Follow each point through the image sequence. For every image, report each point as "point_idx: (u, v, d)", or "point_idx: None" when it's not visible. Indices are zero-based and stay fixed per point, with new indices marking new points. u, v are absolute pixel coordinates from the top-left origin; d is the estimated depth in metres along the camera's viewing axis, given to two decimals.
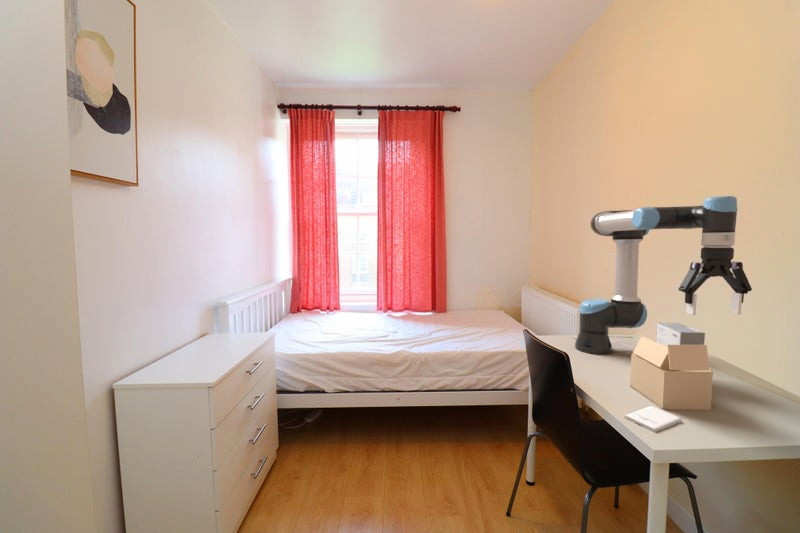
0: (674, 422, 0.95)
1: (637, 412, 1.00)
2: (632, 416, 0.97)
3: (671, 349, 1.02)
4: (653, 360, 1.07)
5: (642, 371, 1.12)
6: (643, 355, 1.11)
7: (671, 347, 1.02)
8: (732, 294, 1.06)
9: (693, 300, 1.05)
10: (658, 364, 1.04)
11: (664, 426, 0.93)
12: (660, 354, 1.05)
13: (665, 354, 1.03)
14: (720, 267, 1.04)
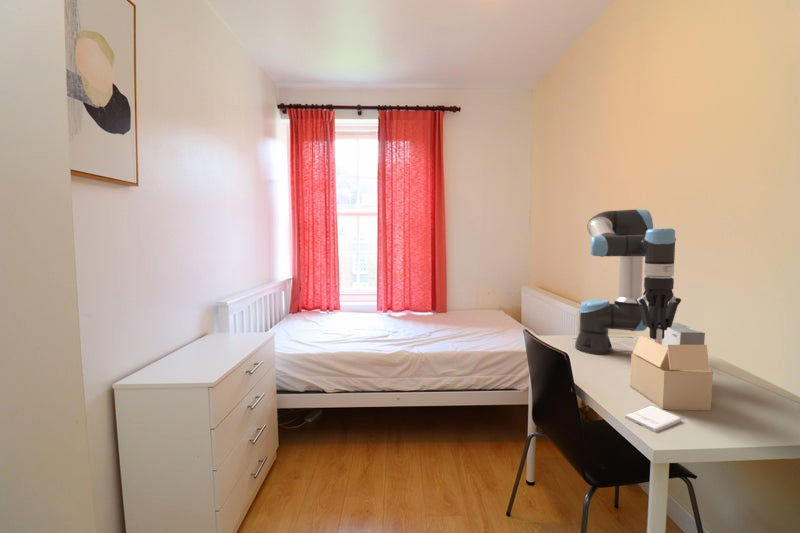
0: (674, 422, 0.95)
1: (637, 412, 1.00)
2: (632, 416, 0.97)
3: (671, 349, 1.02)
4: (653, 360, 1.07)
5: (642, 371, 1.12)
6: (643, 355, 1.11)
7: (671, 347, 1.02)
8: None
9: (657, 336, 1.08)
10: (658, 364, 1.04)
11: (664, 426, 0.93)
12: (659, 354, 1.05)
13: (664, 354, 1.03)
14: (662, 295, 1.07)
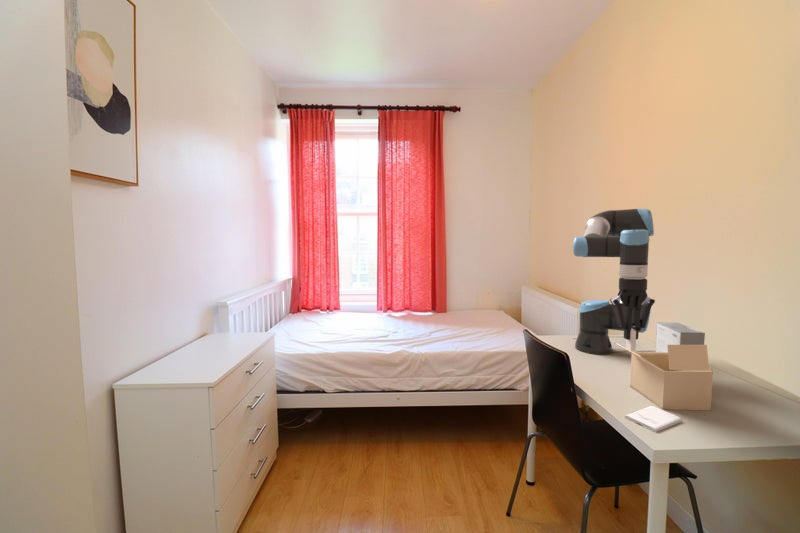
0: (675, 422, 0.95)
1: (638, 412, 1.00)
2: (633, 416, 0.97)
3: (671, 349, 1.02)
4: (648, 362, 1.07)
5: (642, 371, 1.12)
6: (639, 357, 1.11)
7: (671, 347, 1.02)
8: None
9: (631, 336, 1.08)
10: None
11: (665, 426, 0.93)
12: (644, 359, 1.05)
13: (645, 360, 1.04)
14: (636, 296, 1.07)
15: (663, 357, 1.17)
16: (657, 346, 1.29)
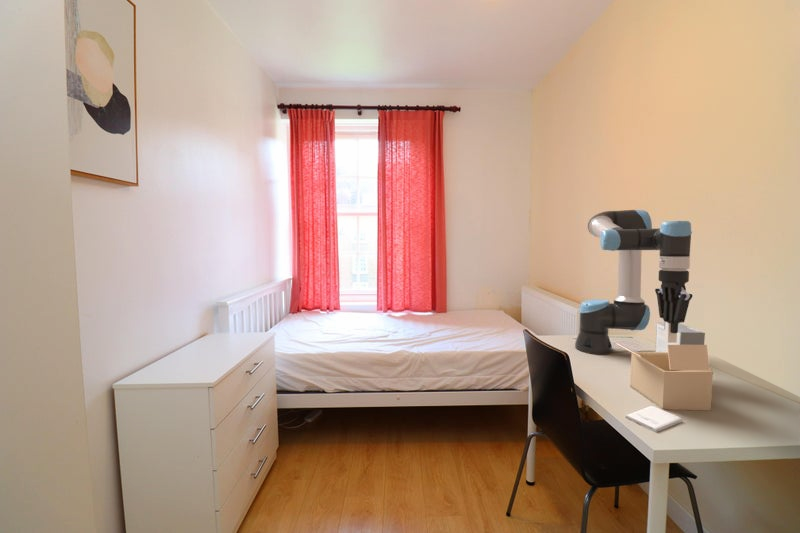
0: (675, 422, 0.95)
1: (638, 412, 1.00)
2: (633, 416, 0.97)
3: (671, 349, 1.02)
4: (648, 362, 1.07)
5: (642, 371, 1.12)
6: (639, 357, 1.11)
7: (671, 347, 1.02)
8: None
9: None
10: None
11: (665, 426, 0.93)
12: (644, 359, 1.05)
13: (645, 360, 1.04)
14: (670, 287, 1.07)
15: (663, 357, 1.17)
16: (657, 346, 1.29)
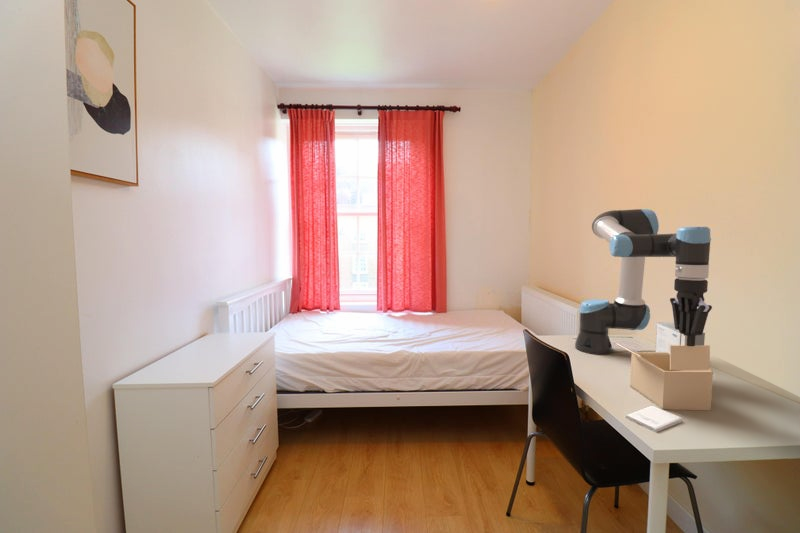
0: (675, 422, 0.95)
1: (638, 412, 1.00)
2: (633, 416, 0.97)
3: (673, 350, 1.01)
4: (648, 362, 1.07)
5: (642, 371, 1.12)
6: (639, 357, 1.11)
7: (673, 348, 1.01)
8: None
9: None
10: None
11: (665, 426, 0.93)
12: (644, 359, 1.05)
13: (645, 360, 1.04)
14: (687, 298, 1.00)
15: (663, 357, 1.17)
16: (657, 346, 1.29)
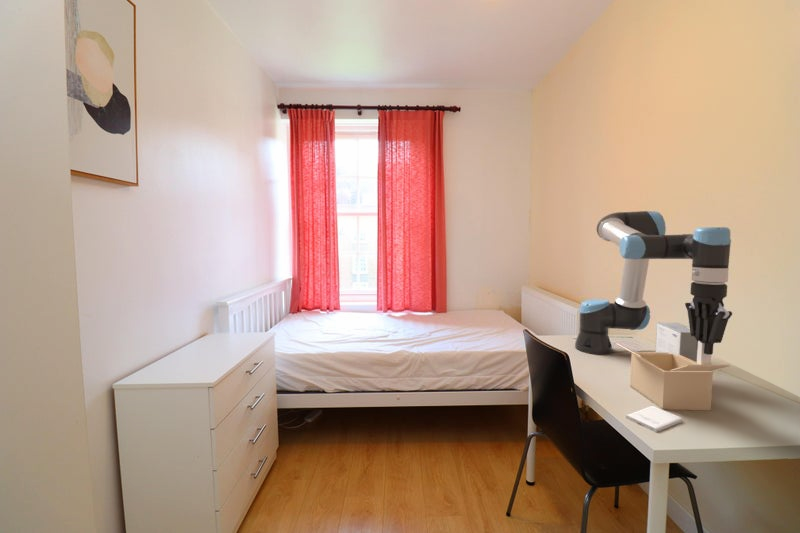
0: (675, 422, 0.95)
1: (638, 412, 1.00)
2: (633, 416, 0.97)
3: (687, 366, 0.96)
4: (648, 362, 1.07)
5: (642, 371, 1.12)
6: (639, 357, 1.11)
7: (689, 366, 0.95)
8: None
9: None
10: None
11: (665, 426, 0.93)
12: (644, 359, 1.05)
13: (645, 360, 1.04)
14: (705, 303, 0.94)
15: (663, 357, 1.17)
16: (657, 346, 1.29)
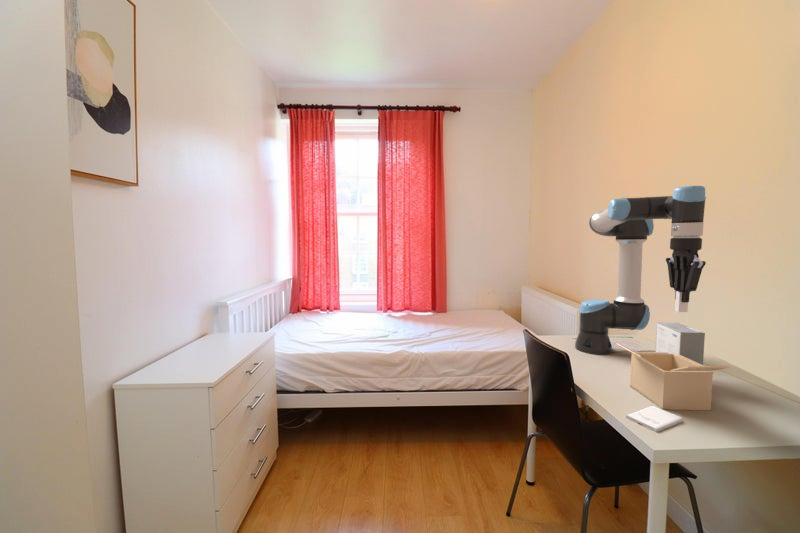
0: (676, 422, 0.95)
1: (639, 412, 1.00)
2: (634, 416, 0.97)
3: (688, 368, 0.96)
4: (648, 362, 1.07)
5: (642, 371, 1.12)
6: (639, 357, 1.11)
7: (690, 367, 0.95)
8: None
9: None
10: None
11: (666, 426, 0.93)
12: (644, 359, 1.05)
13: (645, 360, 1.04)
14: (682, 256, 1.04)
15: (663, 357, 1.17)
16: (657, 346, 1.29)
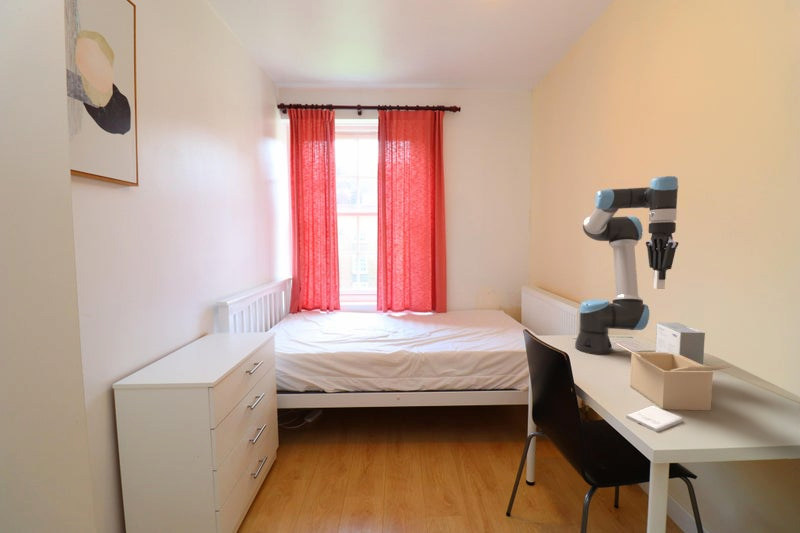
0: (676, 422, 0.95)
1: (639, 412, 1.00)
2: (634, 416, 0.97)
3: (688, 368, 0.96)
4: (648, 362, 1.07)
5: (642, 371, 1.12)
6: (639, 357, 1.11)
7: (690, 367, 0.95)
8: None
9: None
10: None
11: (666, 426, 0.93)
12: (644, 359, 1.05)
13: (645, 360, 1.04)
14: (659, 238, 1.17)
15: (663, 357, 1.17)
16: (657, 346, 1.29)
